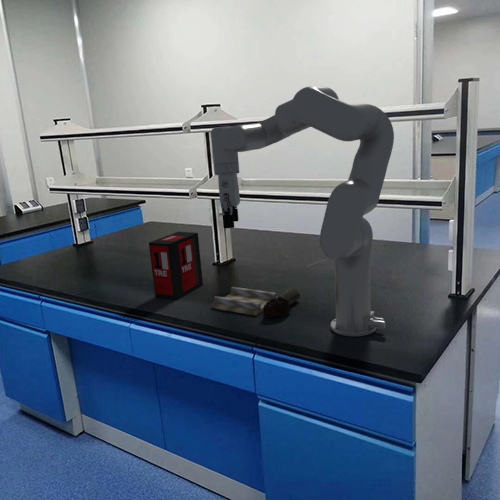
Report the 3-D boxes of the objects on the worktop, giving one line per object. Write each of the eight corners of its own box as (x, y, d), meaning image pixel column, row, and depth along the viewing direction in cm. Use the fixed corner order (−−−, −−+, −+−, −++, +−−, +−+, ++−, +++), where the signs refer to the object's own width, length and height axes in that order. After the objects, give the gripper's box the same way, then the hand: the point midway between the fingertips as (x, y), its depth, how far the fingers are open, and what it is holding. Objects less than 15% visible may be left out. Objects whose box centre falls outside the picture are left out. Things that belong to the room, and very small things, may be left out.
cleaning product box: (183, 283, 191) (177, 231, 186) (203, 285, 187) (197, 232, 182) (155, 297, 178) (148, 242, 173) (175, 300, 173) (169, 244, 168)
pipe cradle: (278, 300, 166) (278, 291, 165) (256, 315, 155) (255, 305, 154) (235, 294, 175) (235, 285, 174) (211, 308, 164) (211, 298, 163)
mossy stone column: (287, 300, 167) (286, 284, 165) (305, 303, 163) (305, 286, 162) (259, 319, 152) (258, 301, 151) (279, 323, 149) (278, 305, 147)
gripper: (235, 171, 143) (239, 230, 148) (242, 165, 160) (246, 218, 164) (209, 172, 144) (214, 231, 148) (219, 166, 161) (223, 219, 165)
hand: (231, 224), depth 156 cm, fingers open, 9 cm apart
